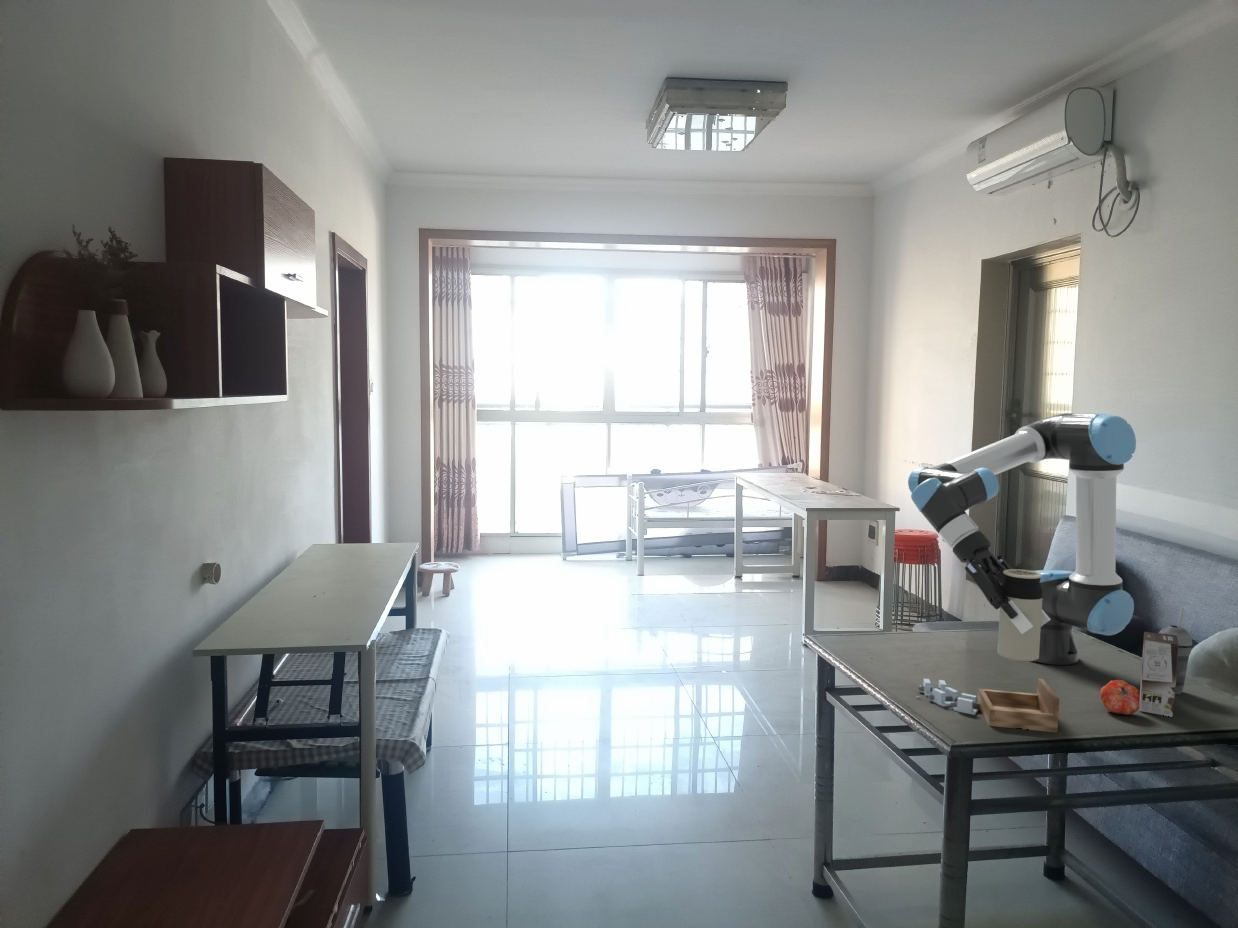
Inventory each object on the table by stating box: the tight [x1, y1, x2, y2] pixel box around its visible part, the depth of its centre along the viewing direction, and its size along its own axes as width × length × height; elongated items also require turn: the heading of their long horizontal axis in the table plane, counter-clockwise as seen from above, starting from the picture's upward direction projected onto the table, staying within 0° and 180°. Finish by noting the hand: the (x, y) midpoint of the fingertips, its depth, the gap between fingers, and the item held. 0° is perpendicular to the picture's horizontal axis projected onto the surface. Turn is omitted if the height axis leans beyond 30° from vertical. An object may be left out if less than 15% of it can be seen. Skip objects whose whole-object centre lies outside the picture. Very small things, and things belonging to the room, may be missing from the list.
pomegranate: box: [1100, 679, 1140, 716], centre depth 184 cm, size 7×7×10 cm
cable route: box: [917, 678, 981, 716], centre depth 188 cm, size 12×14×3 cm
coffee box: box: [1139, 631, 1179, 718], centre depth 186 cm, size 9×6×16 cm
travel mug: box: [996, 568, 1043, 662], centre depth 178 cm, size 8×8×18 cm
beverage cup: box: [1158, 607, 1194, 695], centre depth 198 cm, size 7×7×20 cm
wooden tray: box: [976, 678, 1060, 734], centre depth 179 cm, size 13×13×7 cm
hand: (1036, 626), depth 176 cm, fingers closed on travel mug, 8 cm apart
